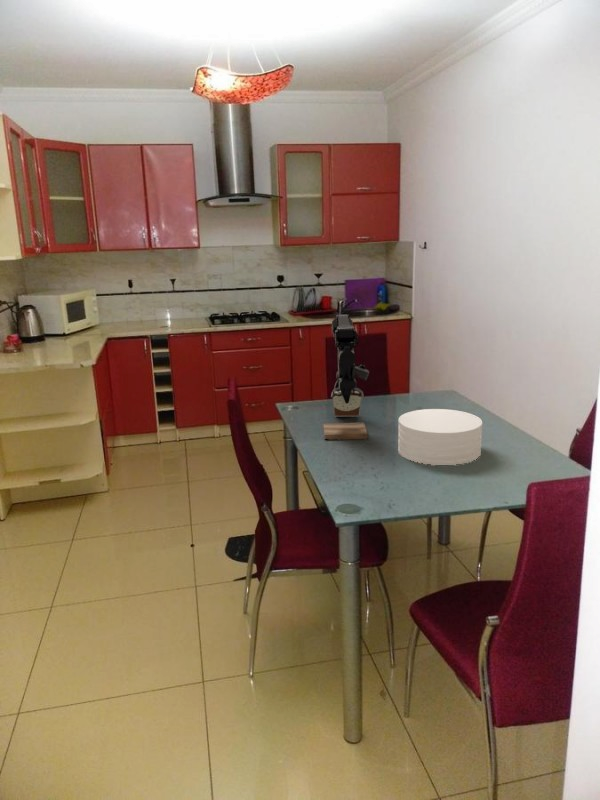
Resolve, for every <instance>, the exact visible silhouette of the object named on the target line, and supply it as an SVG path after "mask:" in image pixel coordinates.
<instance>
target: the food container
mask: <svg viewBox="0 0 600 800" xmlns="http://www.w3.org/2000/svg"><path fill="white" fill-rule="evenodd" d="M333 389H334V390H333ZM333 389H332V392H331V395H330V397H331V398H332V405H333V415H334V417H335V418H336V417H337V416H352V417H360V413H361V407H362V401H363V398H364V392H363V391H362V389H360V388H358V387H357V388H354V389H353V390H352V391H351V395H350V399H349V403H345V400H344V398H343V395H342V393H341V390H340V388H339V387H338V388H336V389H335V388H333Z"/></svg>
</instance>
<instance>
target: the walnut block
mask: <svg viewBox="0 0 600 800" xmlns="http://www.w3.org/2000/svg"><path fill="white" fill-rule="evenodd" d="M322 426H323V435H324V437H325V438H324V437H323V438H324V440H325V439H329V440H328V441H331V440H330V439H338V440H339V441H340V440H341V439H342V440H365V439H366V440H368V431H367V428H366V425H365V422H341V423H340V422H338V423H337V422H336V423H335V422H334V423H323V425H322ZM338 440H337V441H338Z"/></svg>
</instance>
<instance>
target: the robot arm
mask: <svg viewBox="0 0 600 800" xmlns="http://www.w3.org/2000/svg"><path fill="white" fill-rule="evenodd" d="M331 334H333V338H334V341H335V348H337V371H336V379H337V380H336V382H335V384H334V388H332V391H333V390H334V389H336V388H338V387H339V388H340V390H341V393H342V395H343V398H344V400H345V403H349V399H350V395H351V391H352V390H353V389H354V388H358V387H357V386H358V385H357V384H358V383H357V381H356V380H357V379H356V378H359V379H362V380H364V381H367V379H368V377H369V374H370V371H369V369H367V368H366V366H365V365H363V364H360V365H358V366H356V364H355V362H356V358H357V357H356V354H355V351H354V348H356V347H358V344H359V336H358V332H357V330H356V329H355V327H354V323H353V319H351V318H350V315H349V314H347V313H345V314H337V315H336V317H335V318H334V319H333V320H332V321H331ZM352 417H353V416H337V417H335V418H336V419H337V418H339V419H340V418H352Z"/></svg>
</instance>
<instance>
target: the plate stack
mask: <svg viewBox="0 0 600 800" xmlns="http://www.w3.org/2000/svg"><path fill="white" fill-rule="evenodd" d="M397 423H398V429H397V430H398V433H397V434H398V435H397V436H398V439H397V445H398V446H397V447H398V448H397V452H398V454H399V455H400V456H401V457H403V458H404V459H406V460H408V461H410V460H411V461H410V462H413V461H414V462H413V463H417V462H418V463H417V464H421V463H423V464H422V465H427V464H431V465H430V466H435V465H454V466H457V465H456V464H462V463H467V462H470V463H472V462H471V461H473V460H475V461H477V460H478V459H479V458H480V457H481V455H482V439H483V438H482V434H483V421H482V419H481V418H480V417H478V416H477V415H474V414H472V413H470V412H465V411H461V410H455V409H445V408H428V409H427V408H424V409H417V410H412V411H408V412H405V413H403V414H401V415H400V416H399V417H398V422H397ZM479 456H480V457H479ZM478 457H479V458H478ZM477 458H478V459H477ZM476 459H477V460H476ZM473 462H474V461H473ZM467 464H468V463H467ZM462 465H463V464H462Z"/></svg>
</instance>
